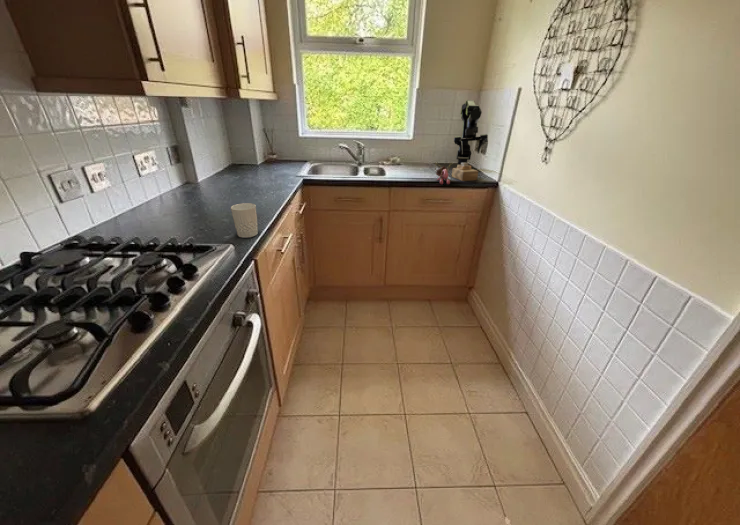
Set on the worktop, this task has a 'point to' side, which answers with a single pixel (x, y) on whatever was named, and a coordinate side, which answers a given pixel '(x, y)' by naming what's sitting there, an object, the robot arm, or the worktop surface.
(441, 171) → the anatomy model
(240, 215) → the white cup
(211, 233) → the worktop surface
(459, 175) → the tan stepped block
